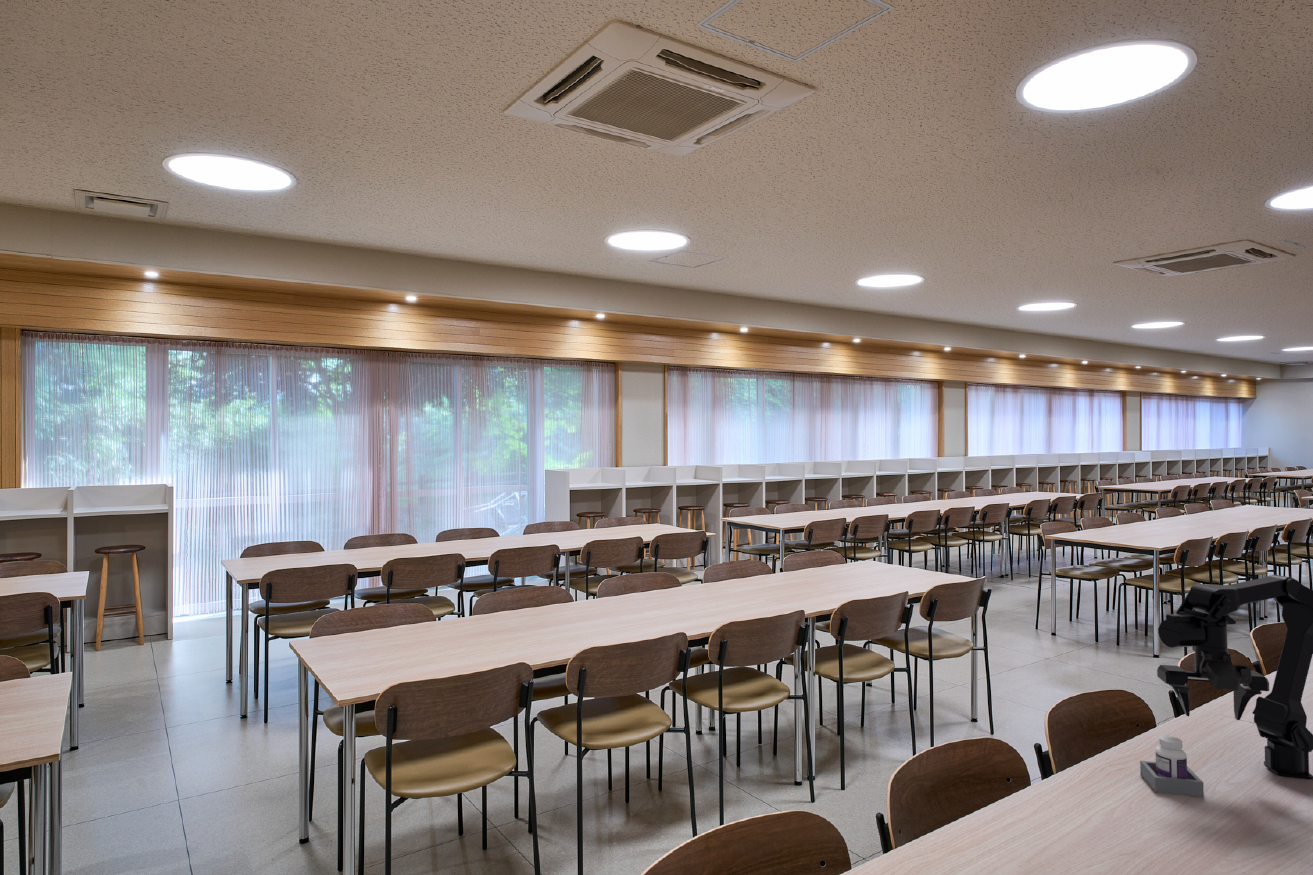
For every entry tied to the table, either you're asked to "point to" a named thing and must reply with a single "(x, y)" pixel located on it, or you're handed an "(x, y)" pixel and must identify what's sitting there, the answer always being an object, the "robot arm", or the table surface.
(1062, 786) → the table surface
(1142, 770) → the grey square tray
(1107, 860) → the table surface
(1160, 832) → the table surface
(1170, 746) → the pill bottle
